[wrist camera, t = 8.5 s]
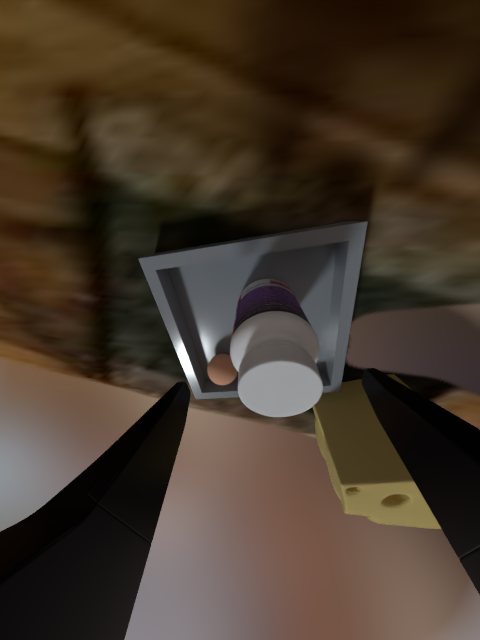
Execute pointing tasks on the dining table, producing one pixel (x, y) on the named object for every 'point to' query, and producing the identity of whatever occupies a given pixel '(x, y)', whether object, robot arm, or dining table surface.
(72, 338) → the dining table surface
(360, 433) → the cheese
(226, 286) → the tray
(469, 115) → the dining table surface
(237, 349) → the pill bottle
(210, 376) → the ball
